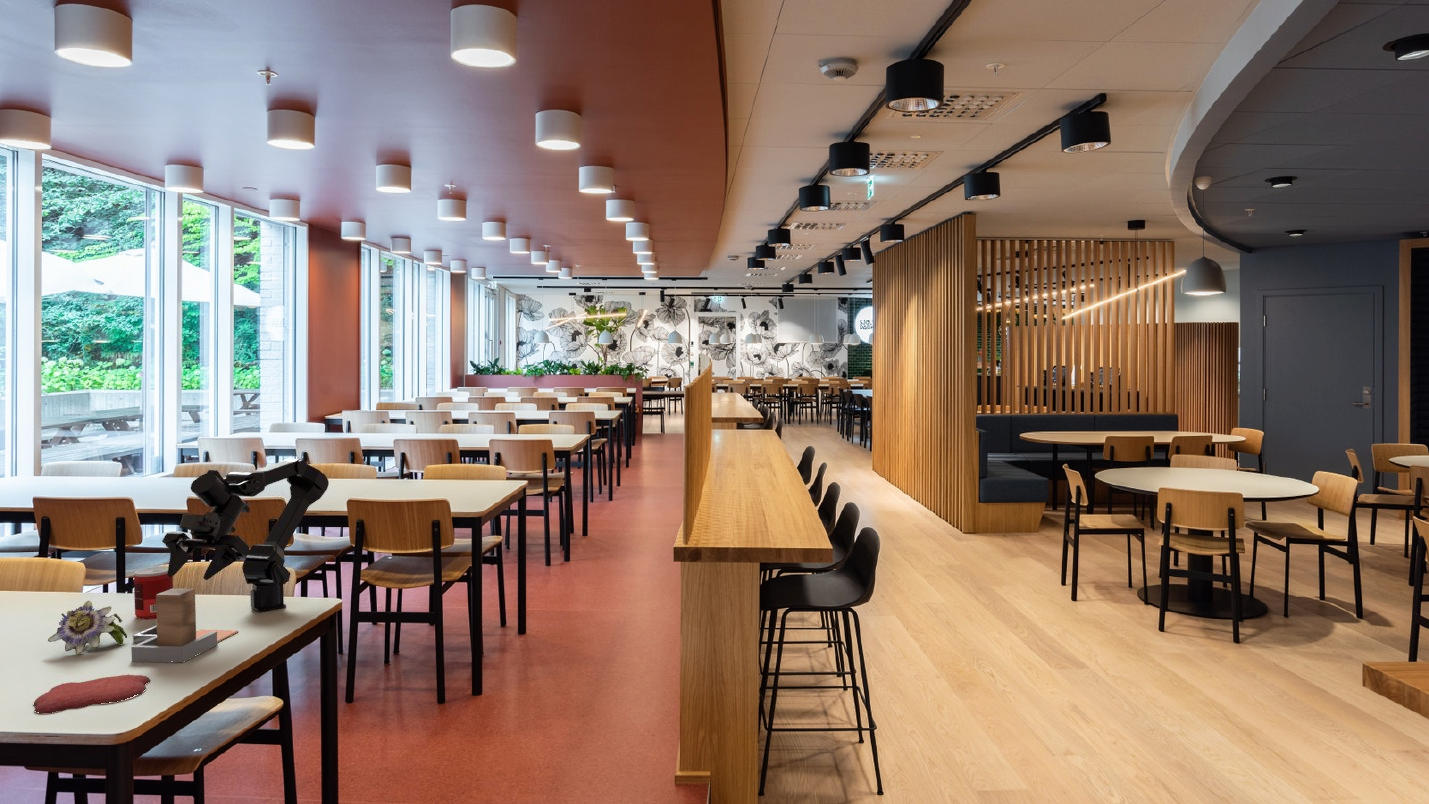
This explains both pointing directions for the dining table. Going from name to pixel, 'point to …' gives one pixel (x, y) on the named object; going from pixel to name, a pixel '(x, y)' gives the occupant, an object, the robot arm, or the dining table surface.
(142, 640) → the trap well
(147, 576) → the canned food
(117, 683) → the patty
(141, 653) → the channel
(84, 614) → the passion flower
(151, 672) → the dining table surface
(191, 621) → the walnut block
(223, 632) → the pad
